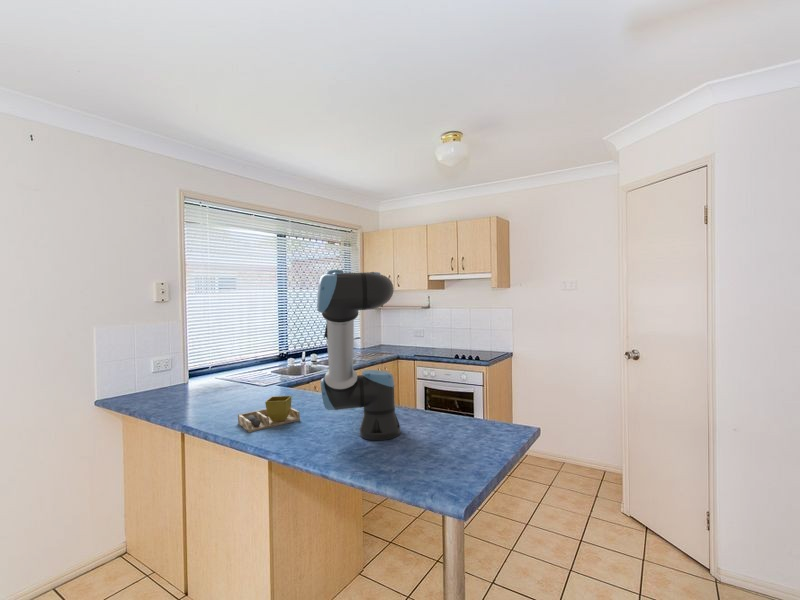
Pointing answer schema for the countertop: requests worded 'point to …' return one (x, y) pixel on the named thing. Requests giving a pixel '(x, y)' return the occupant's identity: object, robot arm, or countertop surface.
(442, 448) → the countertop surface
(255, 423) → the cord stub
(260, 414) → the divided wooden tray
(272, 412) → the flower pot
